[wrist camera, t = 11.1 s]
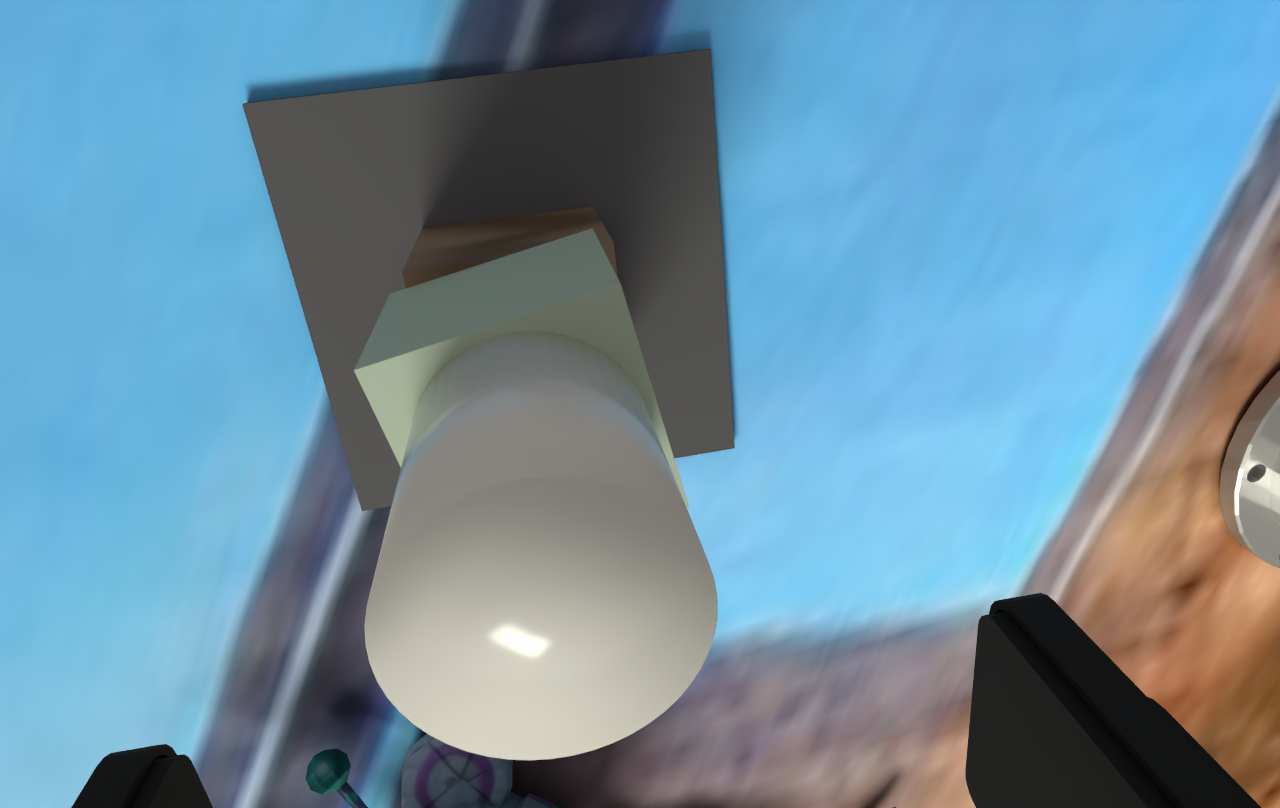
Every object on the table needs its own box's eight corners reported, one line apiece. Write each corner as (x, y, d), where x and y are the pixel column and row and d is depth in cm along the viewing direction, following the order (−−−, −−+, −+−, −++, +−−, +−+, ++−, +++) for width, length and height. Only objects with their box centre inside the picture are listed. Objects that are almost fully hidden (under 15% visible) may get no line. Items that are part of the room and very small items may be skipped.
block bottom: (592, 206, 26) (613, 242, 21) (612, 362, 28) (635, 428, 23) (421, 229, 25) (401, 271, 20) (456, 386, 28) (446, 459, 23)
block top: (592, 228, 21) (620, 284, 16) (648, 409, 23) (689, 507, 18) (390, 293, 20) (353, 370, 16) (467, 469, 23) (457, 584, 18)
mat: (707, 49, 25) (710, 49, 24) (731, 443, 31) (734, 448, 30) (246, 102, 23) (242, 103, 23) (363, 505, 29) (362, 510, 29)
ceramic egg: (637, 314, 16) (705, 447, 11) (660, 523, 18) (727, 724, 13) (385, 352, 15) (321, 512, 10) (438, 562, 18) (409, 788, 12)
